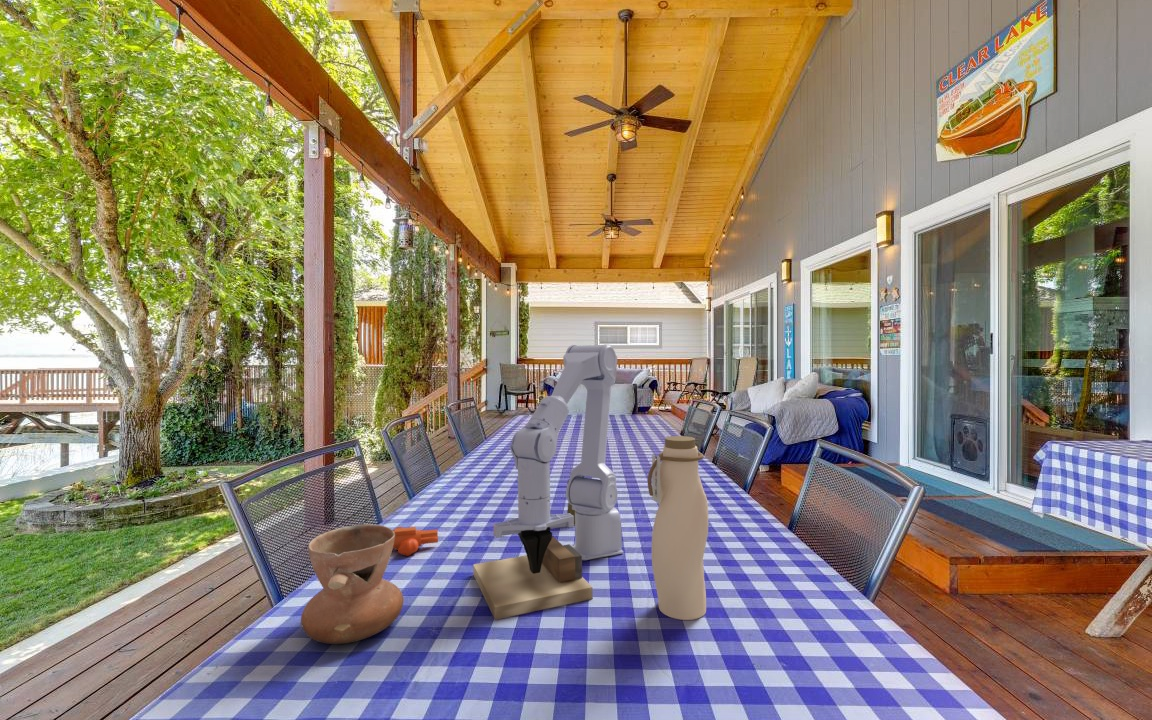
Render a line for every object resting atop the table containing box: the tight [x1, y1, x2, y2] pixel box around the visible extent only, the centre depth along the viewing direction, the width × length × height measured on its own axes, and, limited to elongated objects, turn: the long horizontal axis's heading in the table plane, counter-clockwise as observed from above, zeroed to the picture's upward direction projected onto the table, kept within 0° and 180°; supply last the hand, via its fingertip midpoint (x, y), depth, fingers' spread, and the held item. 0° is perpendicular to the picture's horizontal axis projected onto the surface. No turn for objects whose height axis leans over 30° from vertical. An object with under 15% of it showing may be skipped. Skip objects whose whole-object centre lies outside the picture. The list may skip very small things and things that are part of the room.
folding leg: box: [542, 535, 575, 582], centre depth 95 cm, size 14×3×4 cm, turn 24°
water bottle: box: [647, 435, 709, 621], centre depth 82 cm, size 10×9×28 cm
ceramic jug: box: [300, 523, 404, 645], centre depth 79 cm, size 18×14×14 cm
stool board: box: [472, 544, 594, 621], centre depth 91 cm, size 17×18×6 cm
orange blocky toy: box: [392, 526, 439, 557], centre depth 109 cm, size 5×8×12 cm
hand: (535, 571), depth 90 cm, fingers closed
